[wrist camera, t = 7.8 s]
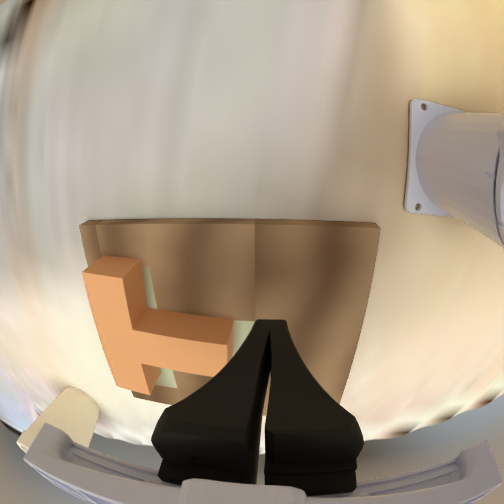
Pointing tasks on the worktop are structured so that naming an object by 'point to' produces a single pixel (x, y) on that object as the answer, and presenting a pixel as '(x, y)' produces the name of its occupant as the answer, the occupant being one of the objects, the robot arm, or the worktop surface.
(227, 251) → the board
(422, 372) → the worktop surface
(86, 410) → the foam cup
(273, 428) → the robot arm
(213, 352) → the t block
